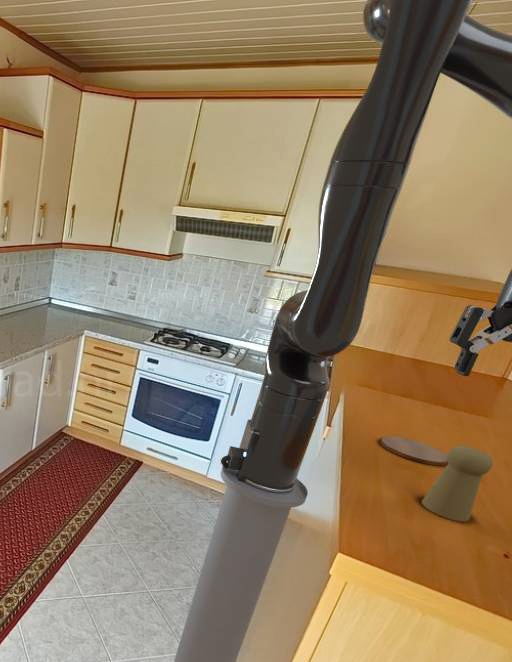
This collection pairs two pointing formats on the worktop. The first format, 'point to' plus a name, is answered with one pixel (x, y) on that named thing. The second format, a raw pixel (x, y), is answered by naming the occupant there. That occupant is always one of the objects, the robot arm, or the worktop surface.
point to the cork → (458, 483)
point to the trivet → (414, 450)
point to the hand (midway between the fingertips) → (496, 380)
